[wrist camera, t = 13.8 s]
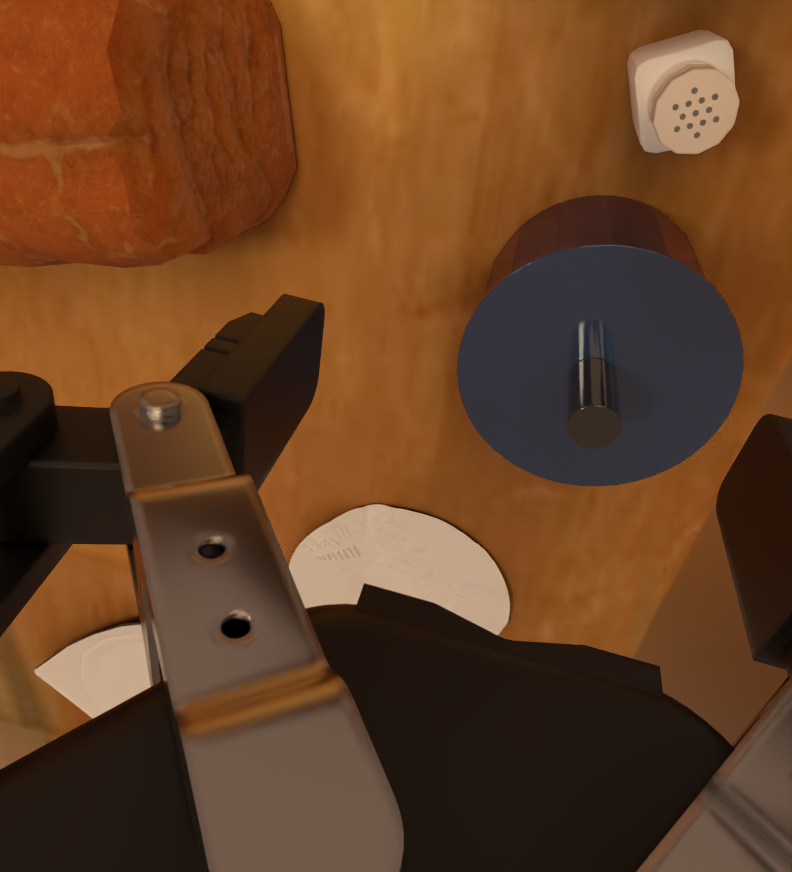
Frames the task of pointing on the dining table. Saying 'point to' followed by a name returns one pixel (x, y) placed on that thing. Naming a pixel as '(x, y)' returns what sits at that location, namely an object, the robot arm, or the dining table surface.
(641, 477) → the pot lid
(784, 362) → the dining table surface
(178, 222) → the bread
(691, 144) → the salt shaker
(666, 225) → the pot
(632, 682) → the robot arm
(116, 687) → the plate
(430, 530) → the plaque
